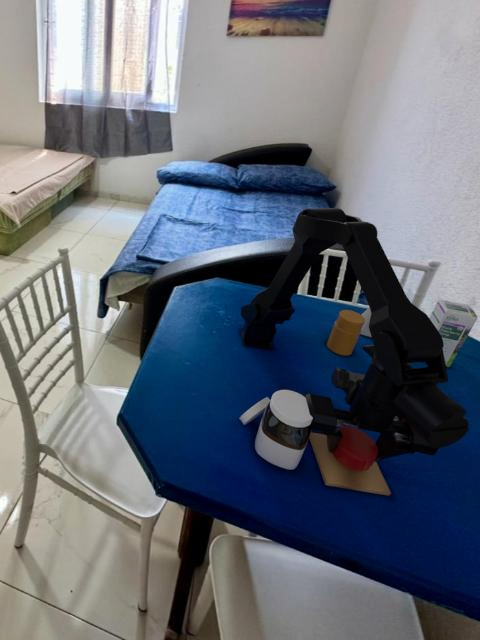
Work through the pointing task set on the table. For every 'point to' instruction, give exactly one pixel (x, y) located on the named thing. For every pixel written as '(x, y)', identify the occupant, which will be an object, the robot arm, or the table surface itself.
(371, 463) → the lid
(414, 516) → the table surface
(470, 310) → the syrup box
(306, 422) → the spread jar
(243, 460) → the table surface
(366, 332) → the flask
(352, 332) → the orange pill bottle
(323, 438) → the coaster
